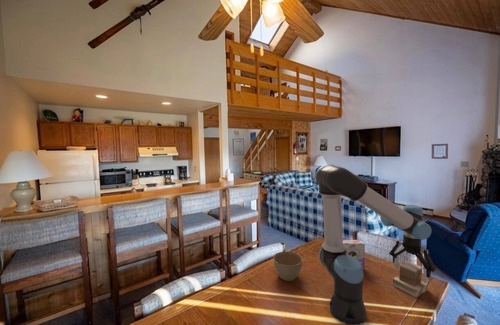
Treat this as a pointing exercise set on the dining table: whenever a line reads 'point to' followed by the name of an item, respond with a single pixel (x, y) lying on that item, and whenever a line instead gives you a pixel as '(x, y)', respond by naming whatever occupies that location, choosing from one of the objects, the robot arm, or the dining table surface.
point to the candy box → (355, 250)
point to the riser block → (410, 287)
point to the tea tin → (410, 273)
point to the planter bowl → (288, 265)
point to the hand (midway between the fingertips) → (410, 275)
